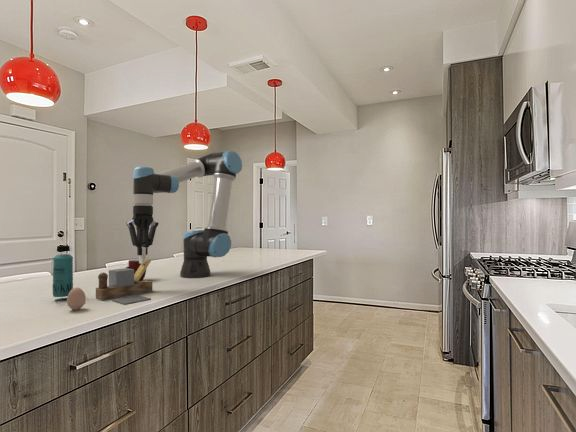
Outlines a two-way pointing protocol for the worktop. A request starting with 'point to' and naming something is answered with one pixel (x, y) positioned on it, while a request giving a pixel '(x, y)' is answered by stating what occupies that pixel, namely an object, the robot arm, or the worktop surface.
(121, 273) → the grey block
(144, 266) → the lever
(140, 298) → the pad
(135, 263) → the mug
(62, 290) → the beverage bottle
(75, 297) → the egg
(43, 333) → the worktop surface
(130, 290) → the plane body
